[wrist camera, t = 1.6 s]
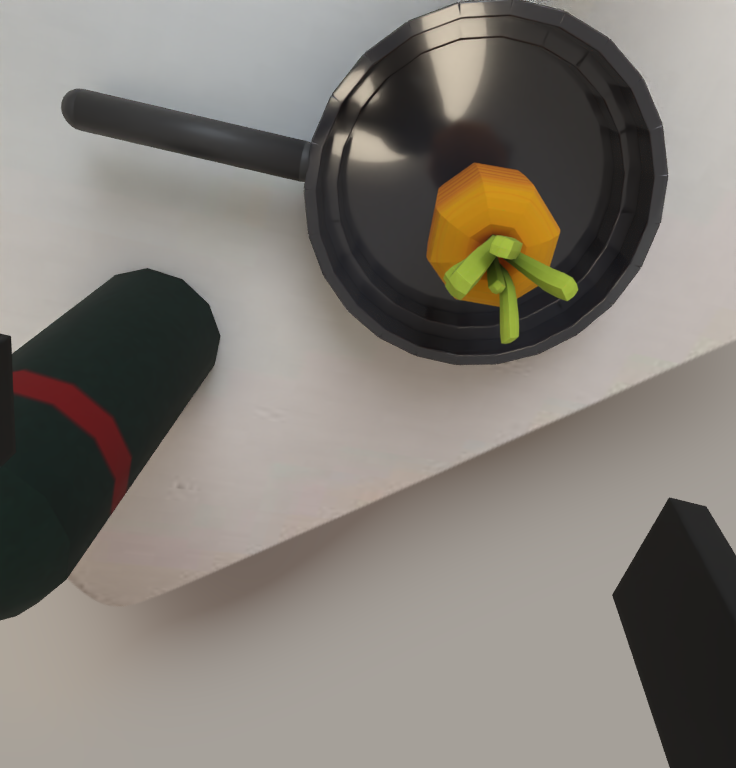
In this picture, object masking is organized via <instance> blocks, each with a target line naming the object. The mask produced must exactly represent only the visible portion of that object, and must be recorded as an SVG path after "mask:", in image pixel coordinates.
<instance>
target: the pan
mask: <svg viewBox="0 0 736 768" xmlns="http://www.w3.org/2000/svg"><path fill="white" fill-rule="evenodd" d="M473 163H480V164H486V165H492V166H497V167H503V168H509V169H515V170H518V171H520V172H521V173H522V174H523V175H525V176H526V177H527V178H528V179H529V180H530V181H531V182H532V184H533V185H534V186H535V188H536V190H537V191H538V193H539V195H540V196H541V198H542V200H543V201H544V203H545V205H546V206H547V208H548V210H549V211H550V213H551V215H552V216H553V218H554V220H555V221H556V223H557V225H558V226H559V228H560V234H559V238H558V241H557V244H556V248H555V251H554V254H553V258H552V261H551V264H550V267H551V268H553V269H555V270H558V271H560V272H562V273H565V274H567V275H568V276H570V277H572V278H573V279H574V281H575V282H576V283H577V287H578V291H577V293H576V294H575V296H574V297H573V298H571V299H570V300H568V301H565V300H562V299H559V298H557V297H555V296H553V295H551V294H549V293H548V292H546V291H544V290H543V289H542V288H540V287H539V286H537V287H536V288H534V289H532V290H531V291H529V292H527V293H526V294H524V295H522V296H521V297H519V298H517V305H518V315H519V337H518V338H516V339H515V340H514V341H512V342H511V343H507V344H502V343H501V337H500V307H498V306H492V305H486V304H480V303H475V302H469V301H463V300H458V299H455V298H454V297H453V296H452V295H451V294H450V293H449V291H448V290H447V289H446V287H445V284H444V283H443V281H442V280H441V278H440V277H439V275H438V274H437V272H436V271H435V270H434V268H433V267H432V265H431V264H430V262H429V261H428V260H427V257H426V255H427V244H428V238H429V233H430V228H431V223H432V218H433V213H434V208H435V203H436V199H437V194H438V189H439V188H440V187H441V186H442V185H443V184H444V183H446V182H447V181H449V180H450V179H451V178H453V177H454V176H456V175H457V174H459V173H460V172H461V171H463V170H464V169H466V168H467V167H468V166H470V165H471V164H473ZM667 174H668V167H667V158H666V149H665V140H664V131H663V126H662V121H661V119H660V117H659V114H658V112H657V109H656V107H655V105H654V102H653V100H652V98H651V95H650V93H649V90H648V88H647V86H646V83H645V81H644V79H643V77H642V76H641V74H640V73H639V72H638V71H637V70H636V69H635V67H634V66H633V65H632V64H631V63H630V62H629V60H628V59H627V58H626V57H625V56H624V54H623V53H622V52H621V51H620V50H619V49H618V47H617V46H616V45H615V44H614V43H613V41H612V40H611V39H609V38H608V37H607V36H605V35H604V34H602V33H600V32H599V31H597V30H595V29H594V28H592V27H591V26H589V25H587V24H586V23H584V22H582V21H581V20H579V19H578V18H576V17H574V16H573V15H571V14H569V13H568V12H565V11H564V10H560V9H556V8H552V7H548V6H543V5H539V4H535V3H531V2H527V1H523V0H479V1H465V2H459V3H458V2H457V3H454V4H452V5H449V6H446V7H444V8H441V9H438V10H436V11H433V12H430V13H428V14H425V15H423V16H420V17H417V18H415V19H412V20H409V21H408V22H406V23H404V24H403V25H402V26H400V27H399V28H398V29H396V30H395V31H394V32H392V33H391V34H390V35H388V36H387V37H385V38H384V39H383V40H381V41H380V42H379V43H377V44H376V45H375V46H373V47H372V48H371V49H369V50H368V51H367V52H365V54H364V55H362V56H361V58H360V59H359V60H358V62H357V63H356V64H355V65H354V67H353V68H352V69H351V70H350V72H349V73H348V74H347V75H346V77H345V78H344V79H343V81H342V82H341V83H340V84H339V86H338V87H337V88H336V89H335V91H334V92H333V93H332V96H331V97H330V99H329V101H328V103H327V106H326V108H325V110H324V113H323V115H322V117H321V120H320V122H319V124H318V126H317V129H316V131H315V133H314V136H313V138H312V142H311V145H310V151H309V168H308V171H307V173H306V177H305V183H304V198H305V208H306V218H307V228H308V234H309V239H310V241H311V244H312V247H313V249H314V252H315V255H316V257H317V260H318V263H319V266H320V268H321V271H322V274H323V275H324V278H325V279H326V280H327V282H328V283H329V285H330V286H331V288H332V289H333V291H334V292H335V293H336V295H337V296H338V298H339V299H340V301H341V302H342V303H343V305H344V306H345V308H346V309H347V310H348V312H350V313H351V314H352V315H353V316H354V317H355V318H357V319H358V320H359V321H360V322H361V323H362V324H364V325H365V326H366V327H367V328H368V329H369V330H370V331H372V332H373V333H374V334H375V335H376V336H377V337H379V338H381V339H383V340H385V341H387V342H389V343H391V344H393V345H395V346H397V347H399V348H401V349H403V350H405V351H407V352H409V353H411V354H413V355H416V356H418V357H423V358H427V359H432V360H436V361H440V362H445V363H449V364H454V365H455V364H456V365H484V364H500V363H504V362H508V361H512V360H517V359H521V358H525V357H529V356H533V355H537V354H540V353H542V352H544V351H546V350H548V349H550V348H552V347H554V346H556V345H558V344H560V343H562V342H564V341H566V340H568V339H570V338H572V337H574V336H576V335H577V333H580V332H581V331H582V330H583V329H585V328H586V327H587V326H588V325H589V324H591V323H592V322H593V321H594V320H595V319H597V318H598V317H599V316H600V315H602V314H603V313H604V312H605V311H606V310H608V309H609V308H610V307H611V306H612V305H613V304H614V303H615V302H616V300H617V299H618V298H619V296H620V295H621V294H622V292H623V291H624V290H625V288H626V287H627V286H628V284H629V283H630V282H631V280H632V279H633V278H634V277H635V275H636V274H637V273H638V271H639V270H640V267H642V265H643V262H644V260H645V258H646V255H647V253H648V251H649V249H650V246H651V244H652V242H653V239H654V237H655V235H656V232H657V230H658V228H659V225H660V223H661V218H662V212H663V206H664V199H665V193H666V187H667V181H668V175H667Z"/></svg>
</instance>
